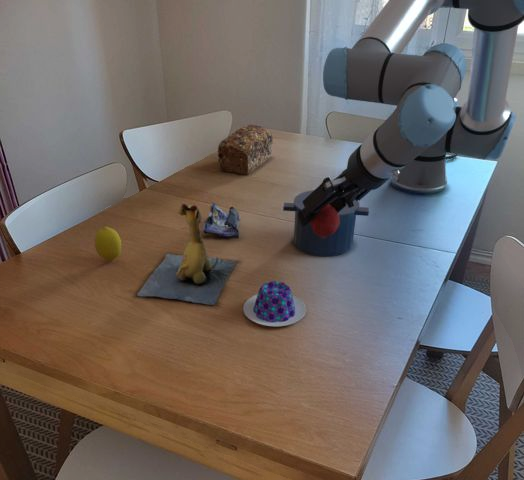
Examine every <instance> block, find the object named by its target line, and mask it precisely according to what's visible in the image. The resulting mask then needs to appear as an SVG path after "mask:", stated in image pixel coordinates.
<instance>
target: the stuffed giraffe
mask: <svg viewBox="0 0 524 480" xmlns="http://www.w3.org/2000/svg"><path fill="white" fill-rule="evenodd" d="M177 213H178V214H179V215H180V216H185V218H186V224H187V225H188V226H187V227H188V232H189V241H188V243H187V246H186V248H185V250H184V252H183V254H182V255H181V254H172V253H169V252H167V253H166V254H165V256H164V258H163V260H162V261H161V262H160V264H158V265H157V267H156V268H155V269H154V271H153V272H152V273H151V274H150V276H149V277H148V278H147V280H146V281H145V282H144V284H143V285H142V287H141V289H140V290H139V291H138V292H137V294H136V296H137V297H141V298H143V297H157V298H163V299H171V300H172V299H173V300H180V301H184V302H185V301H186V302H192V303H194V304H204V305H207V306H209V305H210V306H212V305H213V306H215V305H216V303H217V301H218V298H219V296H220V294H221V293H222V292H221V291H222V290H223V288H224V285H225V283H226V281H227V279H228V278H229V276H230V274H231V272H232V270H233V269H234V267H235V266H236V264H237V261H238V260H225V259H220V258H218V257H208V255H207V251H206V245H205V242H204V239H203V237H202V233H201V228H200V224H201V222H202V214H201V211H200V210H199V208H198V206H197V205H196V204H189V205H187V204H186V203H182V204H181V205H180V206H179V207H178V209H177Z"/></svg>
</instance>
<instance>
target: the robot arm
mask: <svg viewBox="0 0 524 480" xmlns="http://www.w3.org/2000/svg"><path fill="white" fill-rule="evenodd" d="M445 8H446V9H460V10H467V20H468V23H469V24H470V26H471V27H472V28H473V39H472V48H471V49H472V50H471V61H470V62H471V63H470V70H469V71H470V72H469V81H468V93H467V100H466V101H465V102H464V103H463V105H459V103H458V98H456V97H457V96H458V94H459V92H460V90H461V89H462V84H463V81H464V78H465V75H466V74H467V70H468V64H467V63H468V62H467V59H466V56H465V53H463V51H462V50H461V49H460V48H459V47H458V46H456V45H454V44H452V43H449V42H448V43H447V42H440V43H437V44H434V45H433V46H430V47H429V48H428V49H427V50H426V51H425V52H424V53H423V55H417V54H406V53H404V52H405V50H406V49H407V47H408V45H409V44H410V42H411V41H412V40H413V38H414V37H415V35H416V33H417V32H418V31H419V29H421V27H422V25H423V24H424V22H425V21H426V19H427V18H428V16H431V15H433V14H435V13H436V12H437V11H438V10H440V9H445ZM523 22H524V0H388V1H387V2H386V4H385V5H384V6H383V7H382V9H381V10H380V12H379V13H378V14H377V15H376V16H375V18H374V19H373V21H372V22H371V23H370V24H369V25H368V26H367V28H366V30H365V31H364V32H363V34H361V36H360V37H359V38H358V40H357V42H356V43H354V45H353V46H352V48H349V47H347V46H344V47H335V48H332V49H331V50H330V51H329V52H328V54H327V56H326V59H325V61H324V64H323V65H324V66H323V71H322V83H323V89H324V91H325V92H326V94H327V95H329V96H331V97H335V98H340V99H344V100H345V101H348V100H351V101H359V102H367V103H375V104H382V105H387V106H388V105H389V106H395V107H396V108H395V109H394V110H393V111H392V113H391V114H390V115H389V116H388V117H387V118H386V119H385V121H383V123H381V124H380V125H379V126H378V127H377V128H376V129H375V130H373V132H372V133H371V134H370V135H368V137H366V138H365V140H364V141H362V143H361V144H359V146H358V147H357V148H356V149H355V150H354V151H353V152H351V154H350V155H349V157H348V160H347V165H346V168H345V169H344V170H343V171H341V173H340V174H339V175H338V176H337V177H335V178H334V179H331V177H330V176H327V177H325V178H324V179H323V180H322V182H321V183H320V184H319V185H318V186H317V187H316V188H315V189H313V190H314V191H313V192H312V193H311V194H310V195H309V196H308V197H307V198H305V199H304V200H303V201H302V202H303V205H304V208H303V209H302V210H301V211H300V212H299V213H298V214H297V215H298V217H299V220H300V222H301V225H302V226H305V225H307V224H308V223H309V222H310V221H311V220H312V219H313V218H314V217H316V216H317V215H318V214H319V213H320V211H319V210H321V209H322V208H324V207H325V206H327V205H328V204H330V206H332V207H333V208H334V209H335V210H336V211H337V212H339V211H341V210H342V209H343V208H344V207H345V206H346V204H347V205H348V208H351V207H353V206H354V204H353V201H354V200H356V201H359V202H360V201H361V200H362V199H363V198H365V197H366V196H367V195H368V194H369V193H370V192H371V191H375V190H377V189H379V188H381V187H382V186H383V185H384V184H386V182H388V181H389V180H390V179H391V185H392V186H393V187H394V188H395V189H397V190H399V191H401V192H404V193H407V194H411V195H421V196H427V195H428V196H429V195H430V196H431V195H438V194H440V193H443V192H444V191H445V190H446V188H447V184H448V178H447V169H446V160H450V159H454V158H456V157H457V156H459V155H460V156H464V157H470V158H474V159H475V158H476V159H480V160H491V161H496V160H498V159H500V158H501V157H502V155H503V152H504V149H505V147H506V144H507V142H508V139H509V137H510V135H511V132H512V130H513V127H514V124H515V121H516V119H517V114H516V113H514V112H513V111H511V106H510V103H509V102H508V101H507V94H508V87H509V83H510V77H511V76H510V75H511V69H512V64H513V59H514V53H515V47H516V41H517V36H518V31H519V30H518V29H519V26H520V25H521V24H522V23H523ZM447 153H448V154H451V155H447Z"/></svg>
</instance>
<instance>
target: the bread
mask: <svg viewBox="0 0 524 480" xmlns="http://www.w3.org/2000/svg"><path fill="white" fill-rule="evenodd" d="M273 139H274V138H273V135H272V133H271V132H270V131H268V129H266V128H264V127H262V126H260V125H258V124H246V125H244V126H242V127H240V128H239V129H237V130H236V131H234V132H233V133H231V134H230V135H228V136H226V137H225V138H224V139H223V140H221V141H220V143H219V144H218V147H217V157H218V163H219V169H220V170H221V171H225V172H227V173H231V172H234V173H236V174H239V175H247V176H249V175H250V174H251V173H252V172H254V171H256V170H257V169H258V168H259V167H261V166H262V165H263V164H264V163H266V162H267V161H268V160H269V159H270V158H271V156H272V153H273V145H274V144H273V143H274V141H273Z"/></svg>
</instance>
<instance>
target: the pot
mask: <svg viewBox="0 0 524 480" xmlns="http://www.w3.org/2000/svg"><path fill="white" fill-rule="evenodd" d="M282 208H283V209H282V210H283V211H284V212H294V227H293V228H294V229H293V230H294V231H293V233H294V234H293V244H294V246H295V248H297V249H298V250H299V251H300V252H303V253H305V254H308V255H311V256H316V257H337V256H340V255H343V254H345V253H348V252H349V251H350V250H351V249H352V248H353V245H354V236H355V234H354V233H355V226H356V219H357V218H356V217H357V216H366V217H368V216H369V213H370V210H369V208H370V207H368V206H367V207H366V206H365V207H364V206H359V208H358V210H357V211H356V212H354V213H353V214H350V215H347V216H343V217H339V227H338V229H337V230H336V231H335V233H333V234H332V235H330V236H328V237H327V238H325V239H323V238H321V237H319V236H318V235H316V234H315V232H314V231H313V230H312V228H311V223H310V222H311V221H310V222H309V223H308V224H307V225H305V226H302V225H301V222H300V220H299V217H298V215H297V214H298V213H299V212H300V211H299V210H298V209H297V208H296V207H295V206H294V202H284V203H283V207H282Z"/></svg>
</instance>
